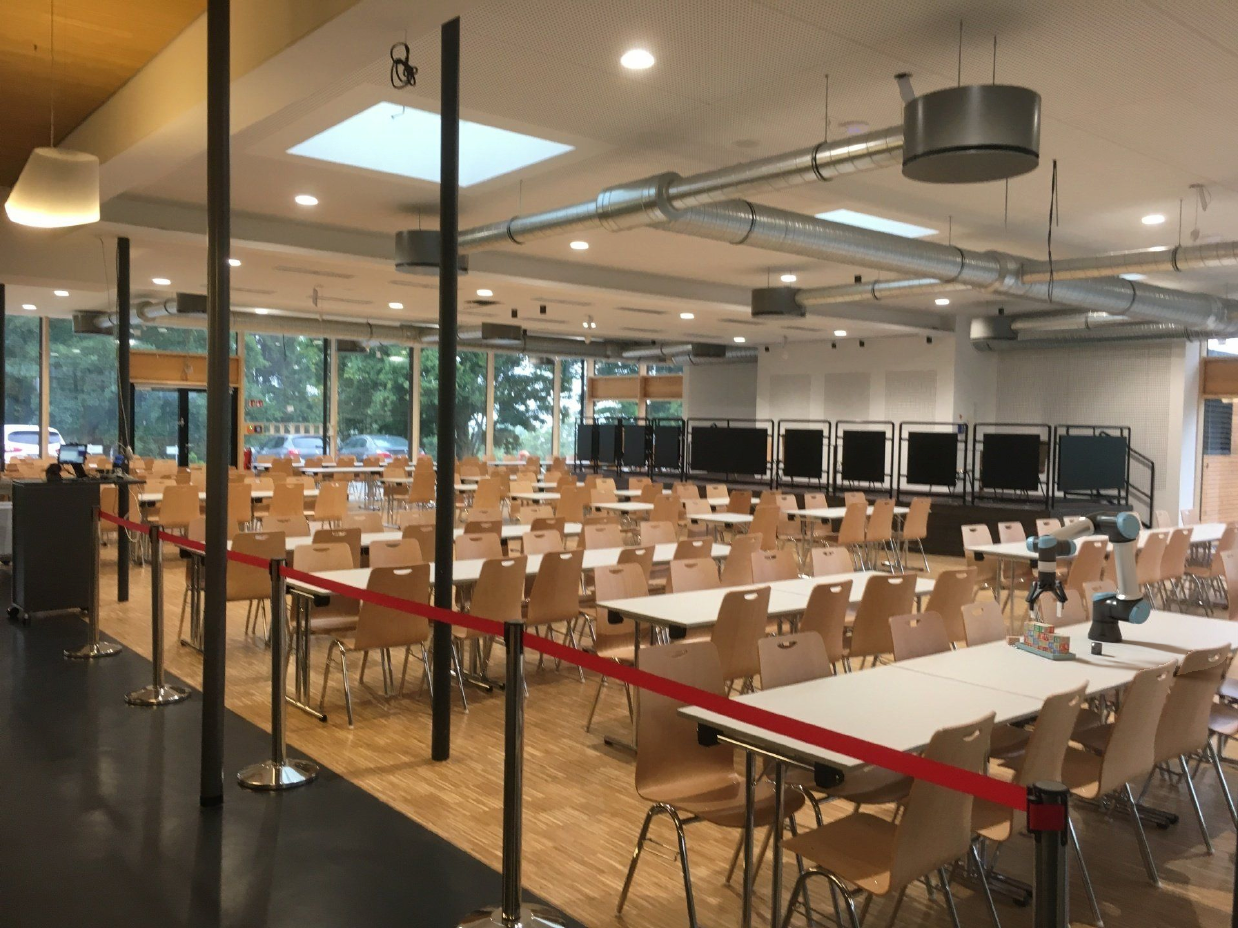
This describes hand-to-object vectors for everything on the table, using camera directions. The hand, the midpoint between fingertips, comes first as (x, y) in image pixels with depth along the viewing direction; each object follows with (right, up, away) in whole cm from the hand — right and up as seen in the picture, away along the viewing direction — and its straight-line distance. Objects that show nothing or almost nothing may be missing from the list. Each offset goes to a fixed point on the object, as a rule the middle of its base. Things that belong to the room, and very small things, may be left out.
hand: (1046, 617), depth 444 cm
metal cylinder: (+23, -17, +2) cm, 29 cm away
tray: (-1, -16, 0) cm, 16 cm away
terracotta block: (-8, -16, +18) cm, 25 cm away
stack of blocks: (0, -16, 0) cm, 16 cm away
